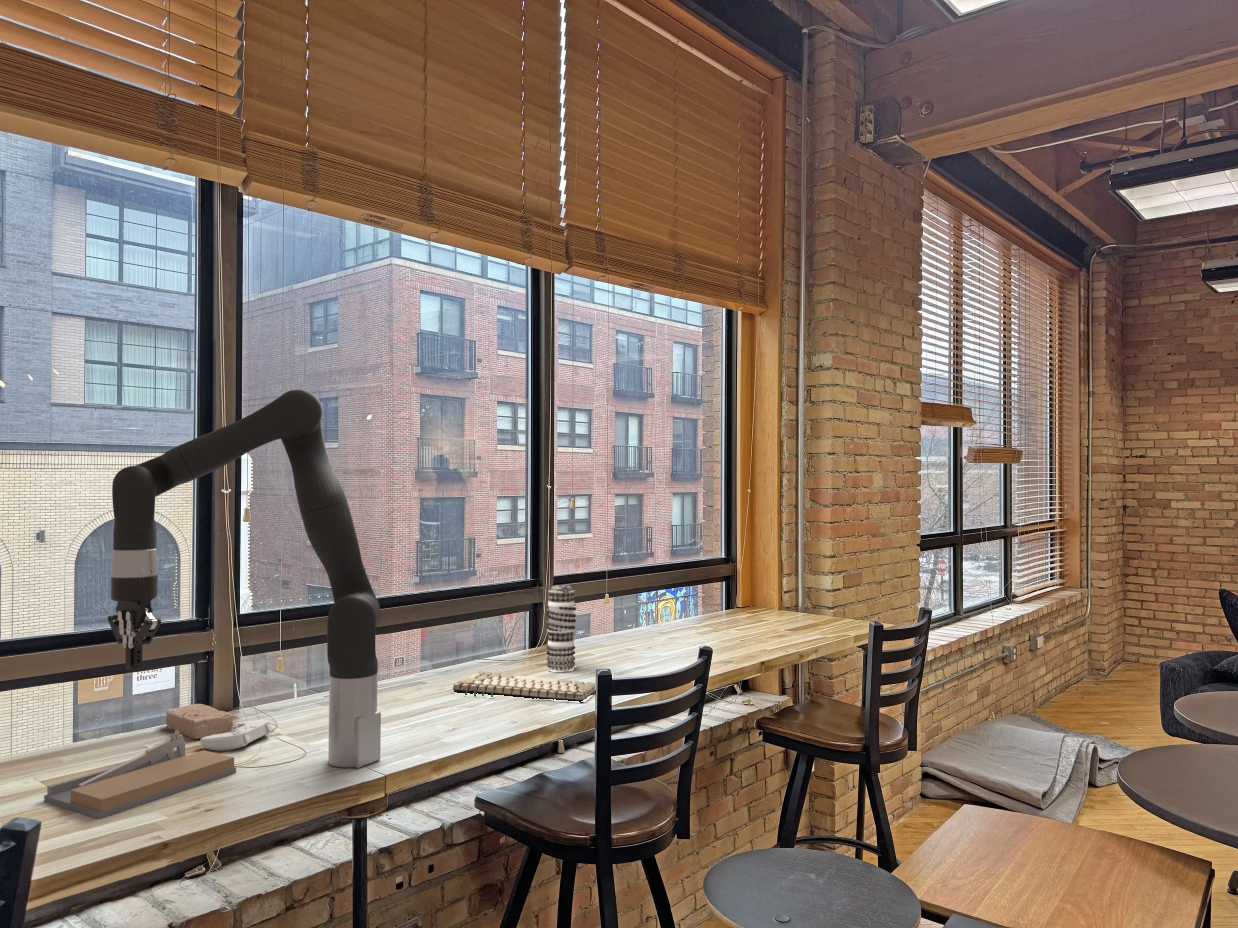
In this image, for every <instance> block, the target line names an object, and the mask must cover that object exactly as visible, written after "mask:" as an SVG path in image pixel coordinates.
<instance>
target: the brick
mask: <svg viewBox="0 0 1238 928" xmlns="http://www.w3.org/2000/svg"><path fill="white" fill-rule="evenodd" d="M233 721H234V717H233V714H232V713H230V712H227V711H224V710H219V709H216V708H214V707H213V706H210V705H207V704H202V703H195V704H188V705H184V706H183V705H182V706H179V707H176V708H171V709H167V711H166V719H165V724H166V728H167V727H169V728H170V729H169V728H168V729H169V730H171V729H173V730H172V731H174V730H177V731H179V734H180V733H181V734H180V735H183V736H185V735H186V736H185V737H187V736H188V737H187V738H189V737H190V738H189V739H195V740H197V739H198V740H199V739H202V738H203V737H206V736H211V735H215V734H221V733H227V732H231V730H232V725H233V724H234V723H233Z"/></svg>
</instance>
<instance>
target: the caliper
mask: <svg viewBox="0 0 1238 928" xmlns="http://www.w3.org/2000/svg"><path fill="white" fill-rule="evenodd" d="M168 736H169V737H170V739H166V740H164V741H162V742H159V743H158V744H155V745H153V746H152V747H149V748H147V749H145V752H144V753H141V754H140V755H137V756H135V757H133V758H131V759H129V760H126V761H125V762H123V763H121V764H118V765H115V766H116V767H115V766H113V767H114V768H112V769H110V770H108V771H106V772H104V773H102V774H99V775H97V776H95V777H93V778H91V779H89V780H87V781H85V782H83V783H81V784H79V787H82V786H86V785H89V784H92V783H96V782H99V781H102V780H106V779H109V778H113V777H116V776H119V775H121V774H123V773H126V772H128V771H130V770H132V769H134V768H136V767H138V766H140V765H142V764H144V763H146V762H148V763H150V764H153V763H154V762H156V761H159V760H160V759H162V758H163V757H164V755H166V757H167V758H168V760H173V759H176V758H175V753H174V751H173V749H177V752H178V756H179V757H183V756H185V755H186V742H185V738H184V735H183V734H180V733H179V731H177V730H175V731H174V733H170V732H169V735H168Z"/></svg>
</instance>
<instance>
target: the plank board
mask: <svg viewBox="0 0 1238 928" xmlns="http://www.w3.org/2000/svg"><path fill="white" fill-rule="evenodd" d="M173 751H174V753H175V758H176V759H173V760H168V758H167V757H166V755H164V757H163V758H162V759H160V760H159V761H156V762H154V763H153V764H150V763H148V762H146V763H144V764H142V765H140V766H138V767H136V768H134V769H132V770H130V771H128V772H126V773H123V774H121V775H119V776H116V777H113V778H109V779H106V780H102V781H99V782H96V783H92V784H89V785H86V786H82V787H79V784H81V783H83V782H85V781H87V780H89V779H91V778H93V777H95V776H97V775H99V774H102V773H104V772H106V771H108V770H110V769H112V768H114V767H116V766H117V765H115V766H111V767H108V768H104V769H101V770H98V771H94V772H92V773H87V774H83V775H80V776H77V777H74V778H73V777H72V778H70V779H67V780H63V781H60V782H55V783H52V784H50V785H47V787H46V788H47V789H46V790H47V793H46V794H44V795H43V801H44V802H45V803H48V804H52V805H54V806H57V807H60V808H64V809H65V810H66V809H67V810H70V811H73V812H76V813H79V814H82V815H85V816H88V817H92V818H94V819H98V820H99V819H103V818H106V817H109V816H112V815H115V814H118V813H121V812H123V811H126V810H129V809H133V808H136V807H138V806H142V805H145V804H147V803H150V802H153V801H156V800H159V799H162V798H165V797H169V796H171V795H173V794H177V793H180V792H183V791H185V790H189V789H191V788H194V787H197V786H202V785H203V784H206V783H210V782H212V781H216V780H218V779H222V778H224V777H228V776H230V775H233V774H236V773H237V767H236V766H235V757H233V756H229V755H226V754H222V753H217V752H213V751H210V750H209V751H208V750H204V749H203V750H199V751H197V752H192V753H189V754H187V755H186V754H185V756H183V757H179V756H178V752H177V748H175V749H173Z"/></svg>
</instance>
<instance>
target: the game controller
mask: <svg viewBox="0 0 1238 928" xmlns="http://www.w3.org/2000/svg"><path fill="white" fill-rule="evenodd" d="M272 731H274V729H273V726H272V725H271V721H270V720H262V719H259V720H258V719H256V720H246V721H239V722H236V723H233V725H232V730H231V732H227V733H221V734H215V735H211V736H206V737H203V738H199V739H200V745H201V746H202V747H203V748H205V749H207V750H209V751H214V752H216V751H217V752H223V751H225V752H226V751H233V750H236V749H240V748H243V747H245V746H247V745H249V743H251V742H253V741H256V740H259V738H263V737H266V736H268V735H270V733H271V732H272Z"/></svg>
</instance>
